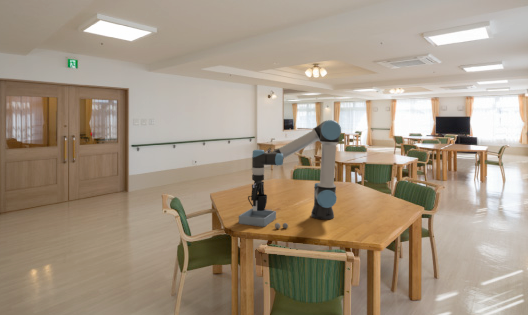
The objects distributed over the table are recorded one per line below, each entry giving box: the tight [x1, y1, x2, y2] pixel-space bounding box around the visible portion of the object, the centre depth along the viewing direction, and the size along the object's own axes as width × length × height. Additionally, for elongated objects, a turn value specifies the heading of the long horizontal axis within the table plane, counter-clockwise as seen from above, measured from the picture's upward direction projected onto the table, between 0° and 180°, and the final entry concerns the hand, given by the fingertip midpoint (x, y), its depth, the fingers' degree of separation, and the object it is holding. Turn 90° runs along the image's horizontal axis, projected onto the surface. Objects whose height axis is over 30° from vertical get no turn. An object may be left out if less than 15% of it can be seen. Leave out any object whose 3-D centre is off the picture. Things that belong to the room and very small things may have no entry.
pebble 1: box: [274, 222, 281, 230], centre depth 195 cm, size 3×3×3 cm
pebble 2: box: [282, 222, 289, 229], centre depth 195 cm, size 3×3×3 cm
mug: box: [247, 193, 268, 211], centre depth 208 cm, size 8×12×10 cm
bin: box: [238, 207, 277, 228], centre depth 210 cm, size 18×20×5 cm
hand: (257, 209), depth 209 cm, fingers closed on mug, 8 cm apart
